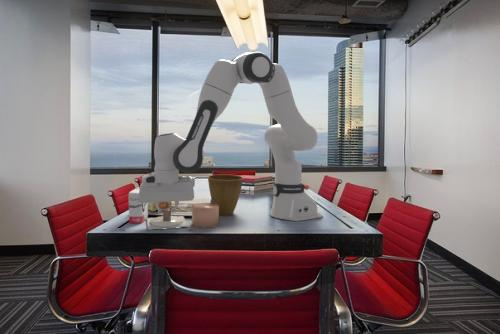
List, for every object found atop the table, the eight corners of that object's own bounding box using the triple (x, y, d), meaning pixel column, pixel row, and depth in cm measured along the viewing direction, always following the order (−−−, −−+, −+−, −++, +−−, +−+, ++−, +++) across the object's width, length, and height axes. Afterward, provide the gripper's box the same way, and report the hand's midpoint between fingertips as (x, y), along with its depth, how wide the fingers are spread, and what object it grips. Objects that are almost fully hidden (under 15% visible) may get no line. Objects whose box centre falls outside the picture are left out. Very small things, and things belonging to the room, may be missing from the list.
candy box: (151, 211, 137) (151, 176, 135) (148, 209, 141) (148, 175, 139) (171, 209, 142) (171, 175, 140) (168, 207, 146) (168, 174, 144)
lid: (181, 216, 129) (181, 205, 128) (185, 225, 117) (185, 212, 117) (149, 218, 125) (149, 206, 124) (151, 228, 113) (150, 214, 113)
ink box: (141, 223, 120) (141, 192, 119) (128, 223, 120) (128, 192, 119) (148, 217, 129) (148, 188, 127) (135, 217, 129) (135, 188, 127)
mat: (183, 217, 130) (183, 215, 130) (188, 227, 117) (188, 226, 117) (146, 219, 125) (146, 218, 125) (147, 230, 112) (147, 228, 112)
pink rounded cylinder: (215, 219, 128) (215, 202, 128) (221, 226, 119) (221, 208, 118) (190, 221, 125) (190, 203, 124) (194, 228, 116) (194, 210, 115)
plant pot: (200, 214, 135) (200, 177, 133) (219, 207, 148) (220, 173, 146) (230, 220, 128) (231, 180, 126) (248, 212, 141) (249, 176, 139)
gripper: (193, 174, 125) (193, 209, 127) (138, 176, 119) (138, 212, 120) (196, 177, 120) (195, 213, 121) (138, 178, 113) (138, 216, 114)
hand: (166, 213), depth 121 cm, fingers open, 4 cm apart
